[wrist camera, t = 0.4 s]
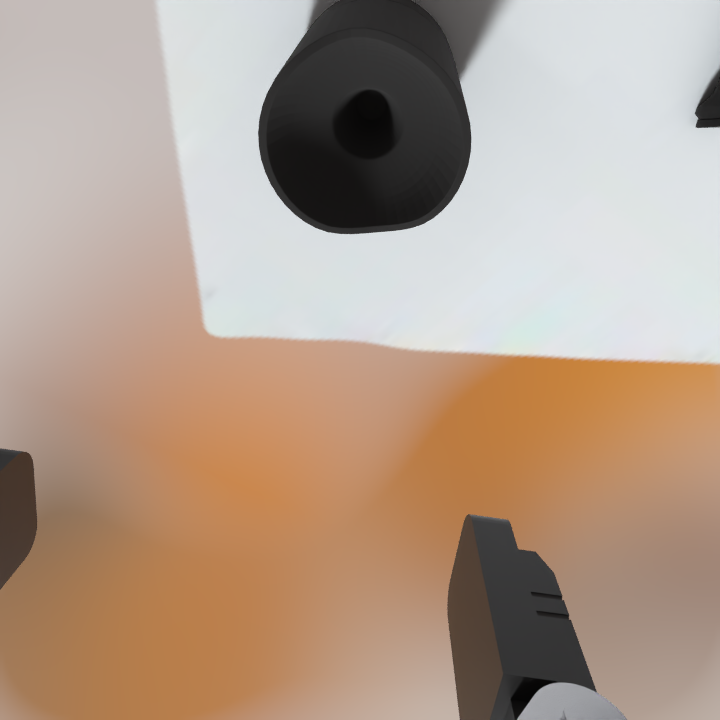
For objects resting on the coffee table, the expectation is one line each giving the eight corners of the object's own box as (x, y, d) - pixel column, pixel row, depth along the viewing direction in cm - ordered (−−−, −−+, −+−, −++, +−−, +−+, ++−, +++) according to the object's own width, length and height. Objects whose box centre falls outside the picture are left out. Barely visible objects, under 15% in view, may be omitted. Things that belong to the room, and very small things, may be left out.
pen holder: (350, -62, 31) (328, -20, 24) (496, 53, 34) (516, 122, 27) (263, 98, 37) (223, 173, 29) (395, 185, 40) (389, 273, 32)
